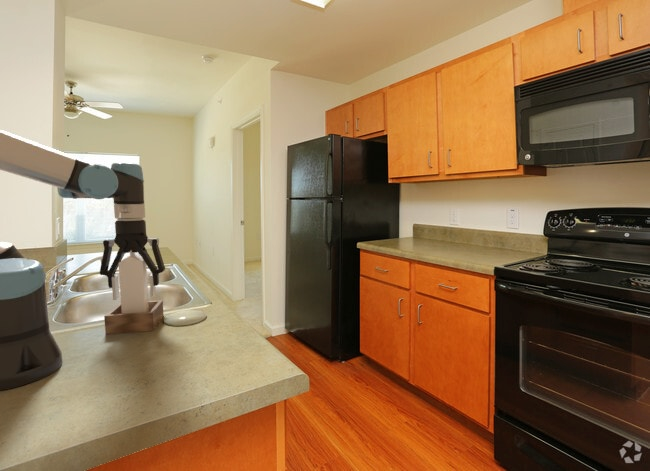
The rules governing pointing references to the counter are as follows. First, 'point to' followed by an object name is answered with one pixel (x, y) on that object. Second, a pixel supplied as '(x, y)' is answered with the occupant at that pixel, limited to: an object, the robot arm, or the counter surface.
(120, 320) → the sleeve
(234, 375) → the counter surface
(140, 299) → the milk
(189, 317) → the cream glossy dome
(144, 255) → the robot arm
